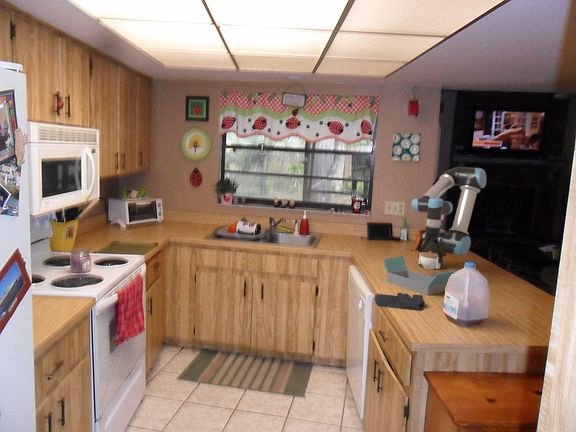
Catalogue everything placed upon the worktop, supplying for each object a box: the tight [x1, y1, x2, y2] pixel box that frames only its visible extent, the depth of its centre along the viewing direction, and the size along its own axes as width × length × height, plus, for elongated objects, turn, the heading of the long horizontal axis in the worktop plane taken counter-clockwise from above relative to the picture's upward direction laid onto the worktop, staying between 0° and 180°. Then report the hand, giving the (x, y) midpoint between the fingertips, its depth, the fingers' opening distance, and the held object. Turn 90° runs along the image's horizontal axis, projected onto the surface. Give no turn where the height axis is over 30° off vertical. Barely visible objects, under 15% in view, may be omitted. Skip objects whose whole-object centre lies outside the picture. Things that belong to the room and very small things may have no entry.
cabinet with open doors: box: [382, 255, 457, 296], centre depth 242 cm, size 34×16×12 cm, turn 37°
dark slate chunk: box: [374, 292, 426, 312], centre depth 212 cm, size 15×22×5 cm
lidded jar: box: [420, 251, 438, 270], centre depth 257 cm, size 11×11×9 cm
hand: (429, 266), depth 258 cm, fingers closed on lidded jar, 11 cm apart
